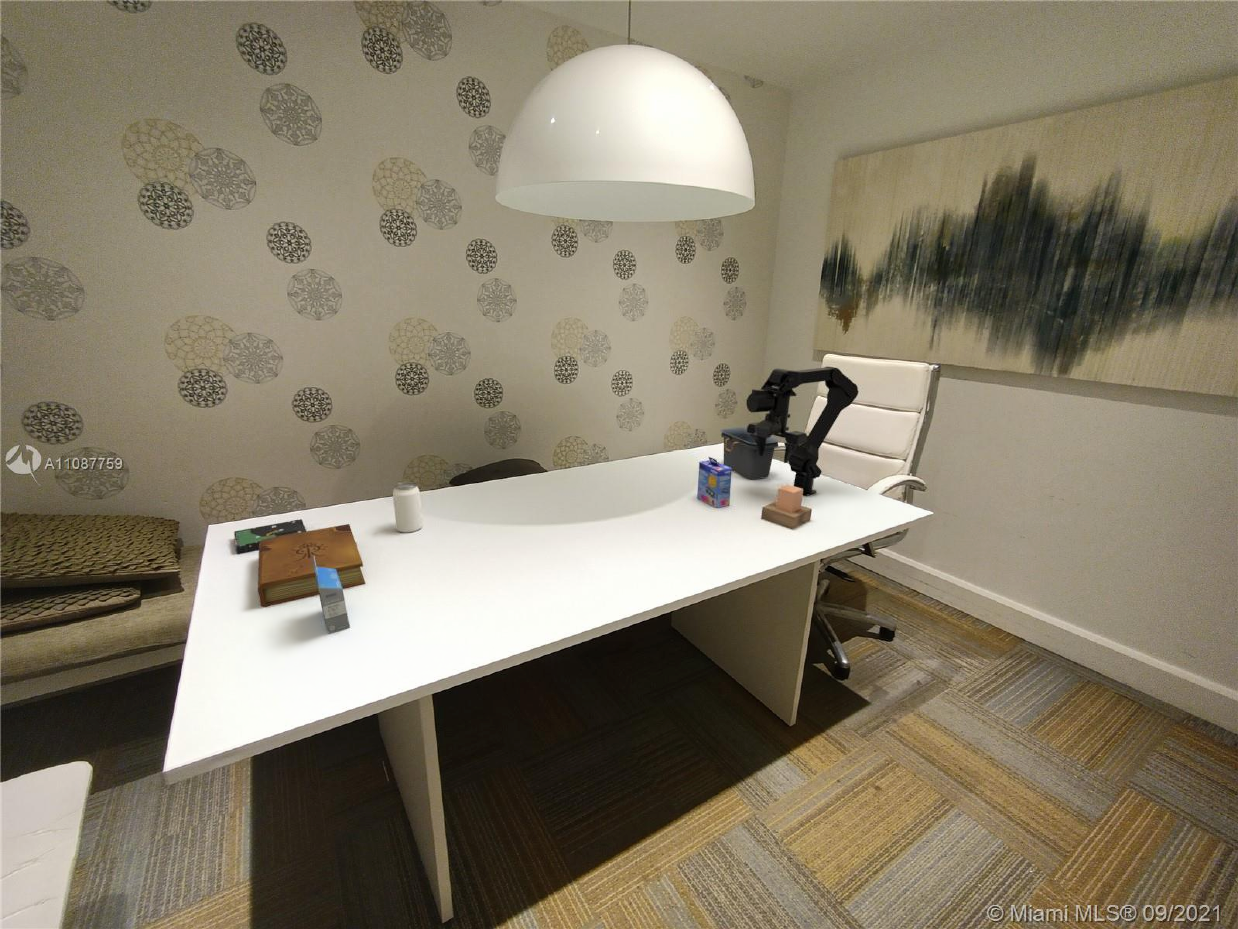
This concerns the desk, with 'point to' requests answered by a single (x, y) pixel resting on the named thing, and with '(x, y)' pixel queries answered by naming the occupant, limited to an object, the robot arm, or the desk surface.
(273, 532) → the disk drive
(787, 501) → the terracotta box
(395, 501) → the can
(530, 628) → the desk surface
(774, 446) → the storage bin
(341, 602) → the label tape box
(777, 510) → the walnut block
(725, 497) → the ink cartridge box
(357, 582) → the diary
